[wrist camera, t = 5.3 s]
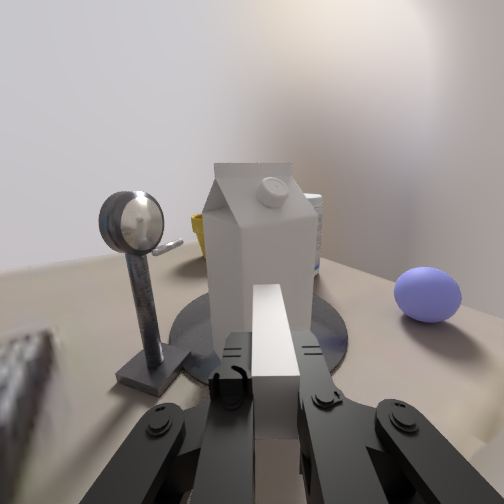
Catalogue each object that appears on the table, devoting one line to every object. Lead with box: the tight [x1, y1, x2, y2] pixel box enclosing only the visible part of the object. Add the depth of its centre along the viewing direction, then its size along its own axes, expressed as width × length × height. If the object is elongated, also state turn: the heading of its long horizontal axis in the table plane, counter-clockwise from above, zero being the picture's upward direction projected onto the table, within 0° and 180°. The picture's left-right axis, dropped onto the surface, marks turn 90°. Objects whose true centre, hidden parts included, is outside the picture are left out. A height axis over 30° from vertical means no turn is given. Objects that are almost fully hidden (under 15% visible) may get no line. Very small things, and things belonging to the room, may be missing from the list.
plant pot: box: [191, 213, 206, 258], centre depth 56 cm, size 10×10×10 cm
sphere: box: [394, 267, 462, 323], centre depth 31 cm, size 7×7×7 cm
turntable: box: [170, 293, 348, 386], centre depth 32 cm, size 22×22×1 cm
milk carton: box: [202, 163, 318, 361], centre depth 22 cm, size 7×7×19 cm
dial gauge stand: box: [99, 191, 191, 397], centre depth 22 cm, size 5×6×18 cm
